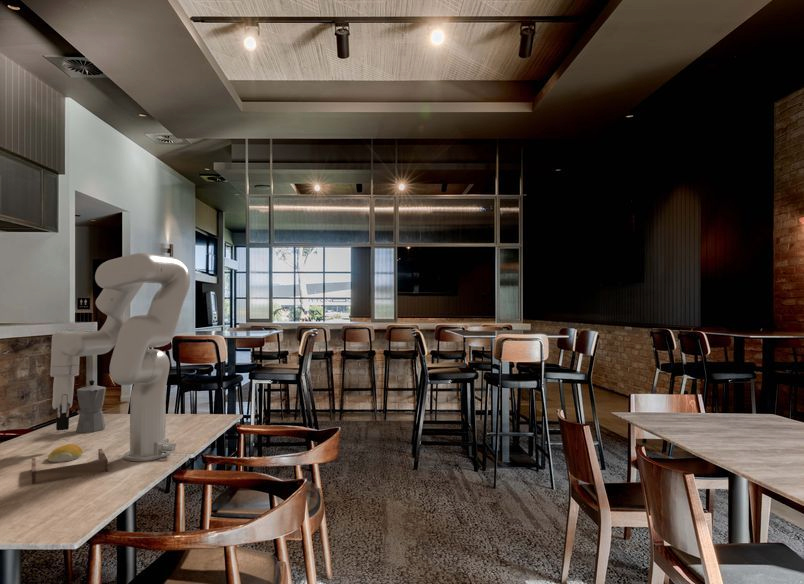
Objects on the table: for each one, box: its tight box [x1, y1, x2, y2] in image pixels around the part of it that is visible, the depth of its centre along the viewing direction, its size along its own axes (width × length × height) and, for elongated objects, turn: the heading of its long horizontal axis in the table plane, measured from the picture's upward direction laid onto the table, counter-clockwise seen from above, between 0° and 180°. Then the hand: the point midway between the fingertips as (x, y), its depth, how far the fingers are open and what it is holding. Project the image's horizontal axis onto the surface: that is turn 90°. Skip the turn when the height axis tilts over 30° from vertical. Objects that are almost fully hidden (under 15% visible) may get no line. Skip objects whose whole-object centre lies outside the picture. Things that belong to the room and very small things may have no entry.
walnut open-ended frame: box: [31, 448, 109, 485], centre depth 139 cm, size 15×17×3 cm
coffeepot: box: [76, 379, 107, 434], centre depth 188 cm, size 15×9×18 cm, turn 44°
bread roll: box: [47, 443, 84, 463], centre depth 152 cm, size 8×9×4 cm
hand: (62, 429), depth 161 cm, fingers closed
